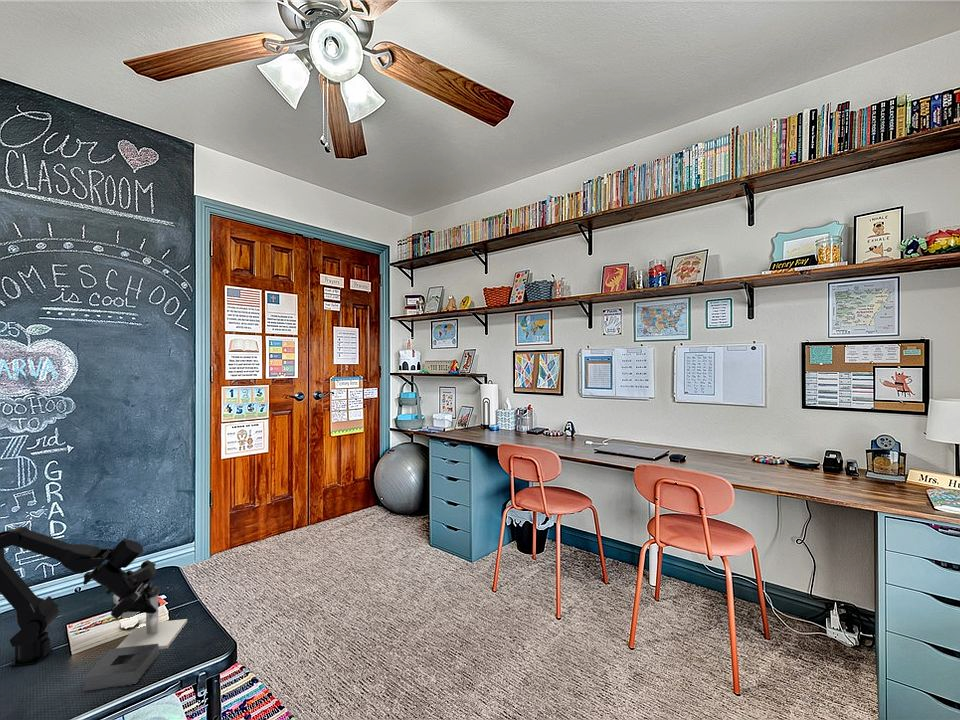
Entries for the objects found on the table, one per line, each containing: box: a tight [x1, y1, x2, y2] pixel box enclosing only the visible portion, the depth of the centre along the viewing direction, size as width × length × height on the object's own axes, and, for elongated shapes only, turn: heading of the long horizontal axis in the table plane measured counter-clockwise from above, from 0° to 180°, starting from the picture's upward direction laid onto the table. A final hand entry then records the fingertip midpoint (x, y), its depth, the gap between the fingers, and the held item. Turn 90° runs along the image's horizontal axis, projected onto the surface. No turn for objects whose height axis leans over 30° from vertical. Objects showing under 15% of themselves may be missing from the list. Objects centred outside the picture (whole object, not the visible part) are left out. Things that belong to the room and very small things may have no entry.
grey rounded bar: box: [112, 594, 138, 618], centre depth 154 cm, size 5×7×25 cm
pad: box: [116, 618, 188, 651], centre depth 141 cm, size 14×14×1 cm
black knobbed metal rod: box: [145, 585, 160, 634], centre depth 141 cm, size 4×4×13 cm
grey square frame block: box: [83, 644, 159, 692], centre depth 125 cm, size 12×12×4 cm
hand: (157, 609), depth 141 cm, fingers closed on black knobbed metal rod, 3 cm apart
